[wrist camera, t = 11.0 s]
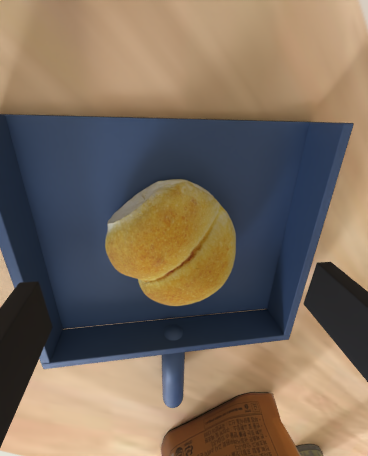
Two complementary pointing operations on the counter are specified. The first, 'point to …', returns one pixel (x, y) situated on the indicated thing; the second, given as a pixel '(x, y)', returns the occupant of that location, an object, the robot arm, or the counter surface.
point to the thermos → (309, 450)
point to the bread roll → (173, 242)
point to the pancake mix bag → (233, 431)
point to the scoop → (136, 182)
